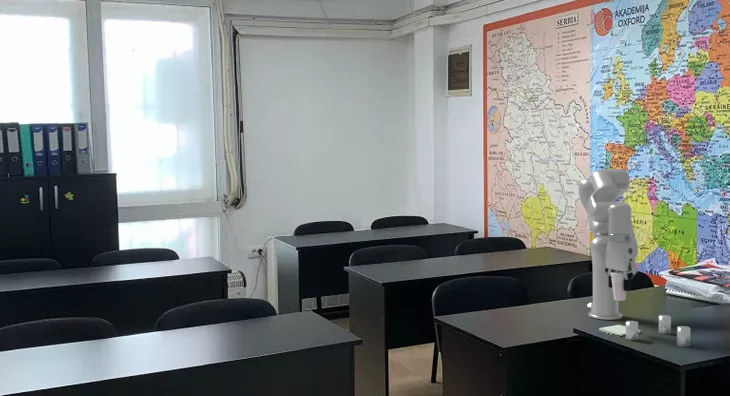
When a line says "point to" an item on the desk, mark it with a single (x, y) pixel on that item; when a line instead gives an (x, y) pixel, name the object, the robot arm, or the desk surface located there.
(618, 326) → the coaster mat
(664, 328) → the set of grey cylinders
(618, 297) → the smoothie
